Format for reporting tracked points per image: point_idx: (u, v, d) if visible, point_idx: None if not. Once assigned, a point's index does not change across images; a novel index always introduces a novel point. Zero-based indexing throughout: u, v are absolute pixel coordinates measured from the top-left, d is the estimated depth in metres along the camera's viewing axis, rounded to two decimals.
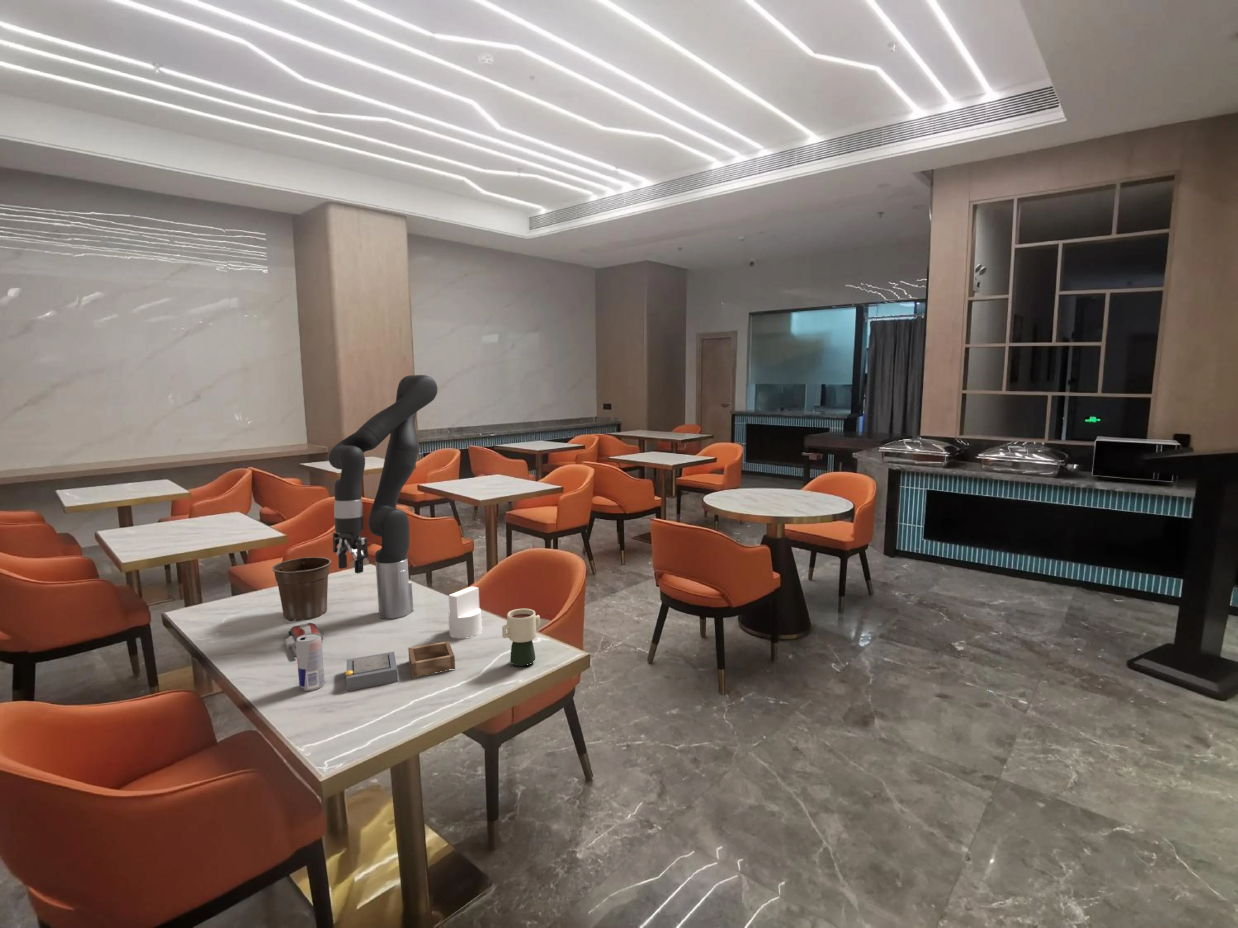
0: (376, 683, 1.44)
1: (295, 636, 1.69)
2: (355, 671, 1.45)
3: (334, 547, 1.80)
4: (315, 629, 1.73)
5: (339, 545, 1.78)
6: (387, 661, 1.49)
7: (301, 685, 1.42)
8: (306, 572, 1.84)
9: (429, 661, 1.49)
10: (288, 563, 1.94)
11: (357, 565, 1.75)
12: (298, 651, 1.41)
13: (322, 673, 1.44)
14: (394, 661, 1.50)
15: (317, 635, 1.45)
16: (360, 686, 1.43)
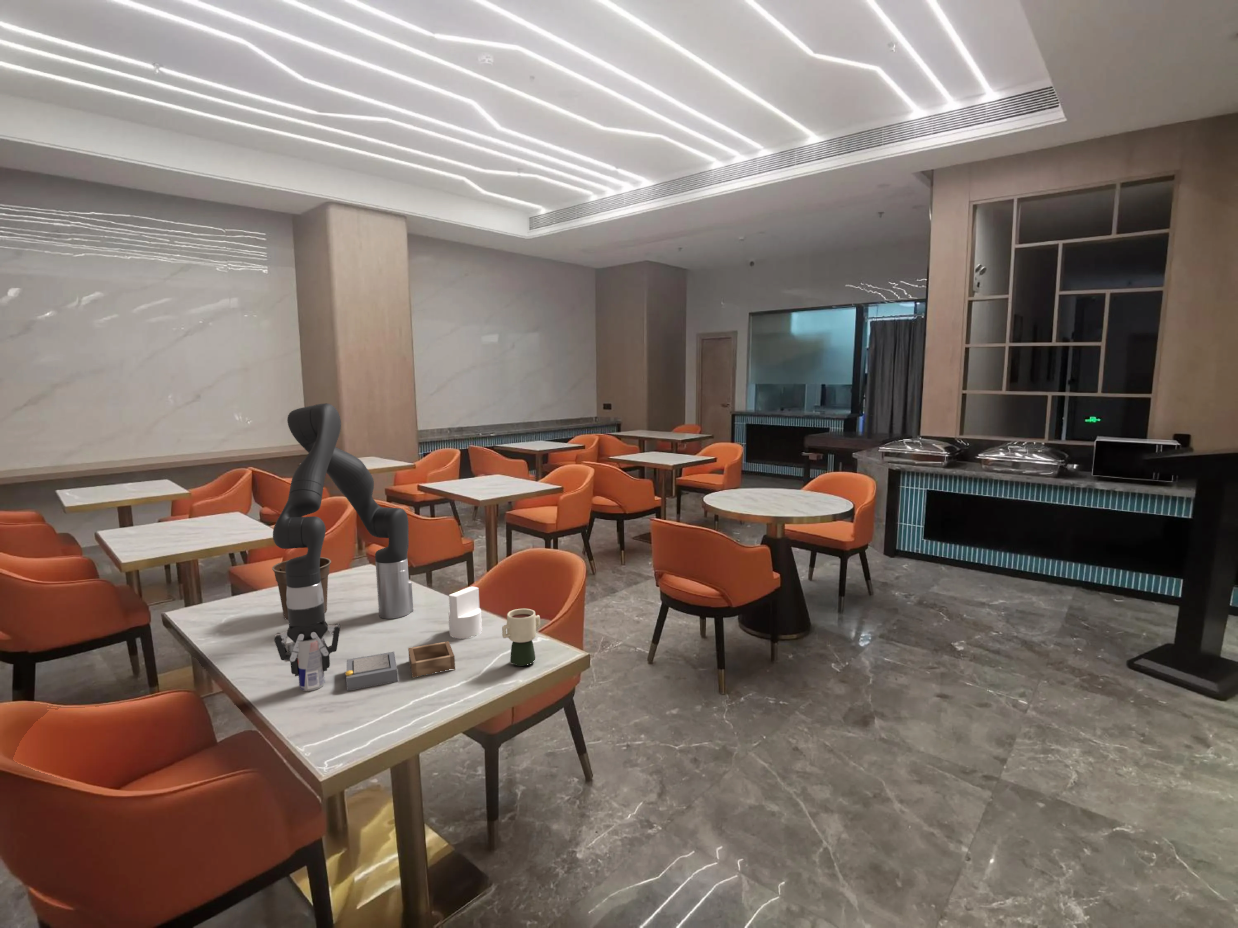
0: (376, 683, 1.44)
1: None
2: (355, 671, 1.45)
3: (283, 652, 1.40)
4: None
5: (297, 645, 1.41)
6: (387, 661, 1.49)
7: (301, 685, 1.42)
8: None
9: (429, 661, 1.49)
10: None
11: (327, 660, 1.45)
12: None
13: (322, 673, 1.44)
14: (394, 661, 1.50)
15: None
16: (360, 686, 1.43)
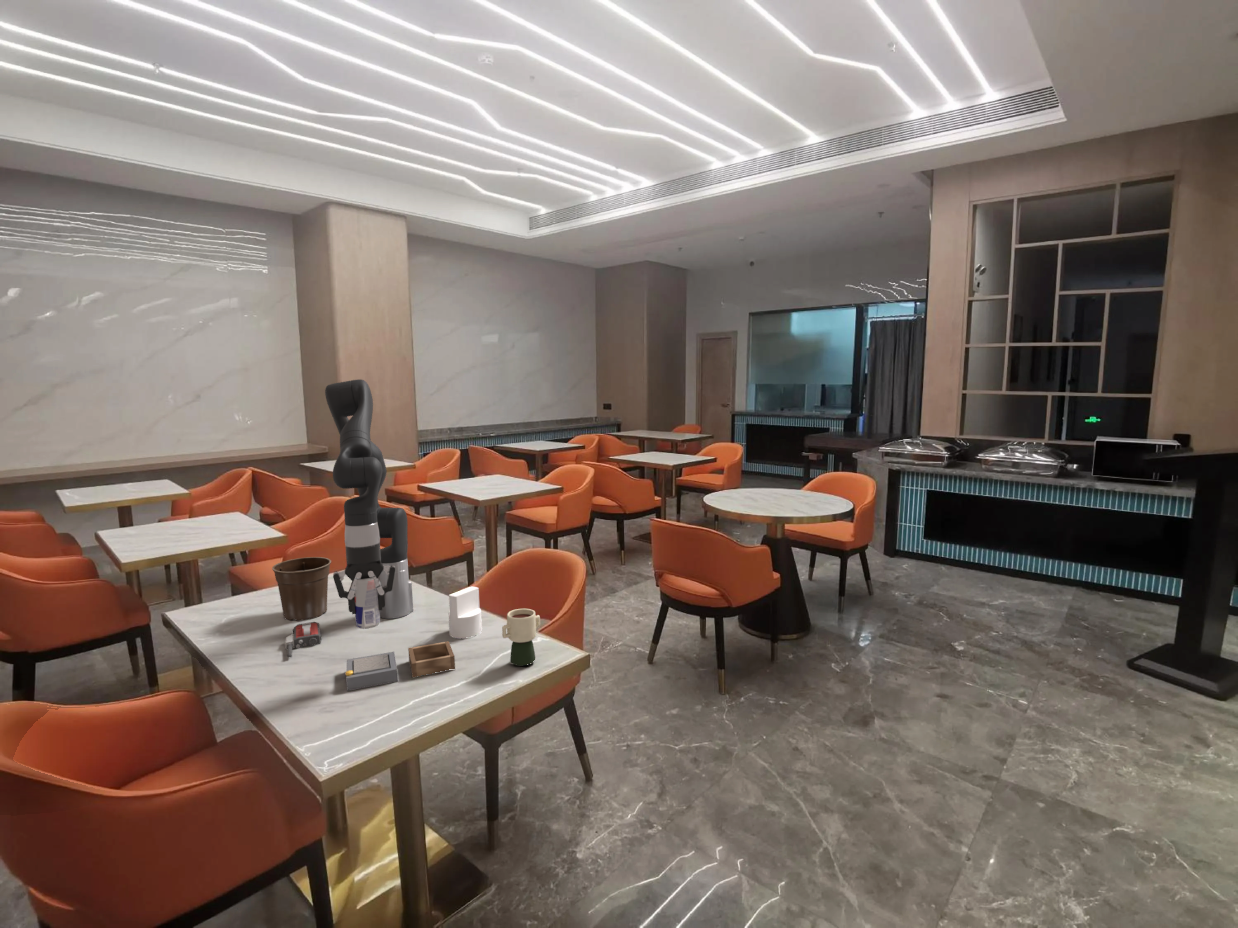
0: (376, 683, 1.44)
1: (295, 634, 1.69)
2: (355, 671, 1.45)
3: (341, 590, 1.43)
4: (316, 628, 1.73)
5: (355, 583, 1.44)
6: (387, 661, 1.49)
7: (358, 623, 1.45)
8: (306, 572, 1.84)
9: (429, 661, 1.49)
10: (288, 563, 1.94)
11: (382, 600, 1.48)
12: (356, 589, 1.44)
13: (378, 612, 1.47)
14: (394, 661, 1.50)
15: None
16: (360, 686, 1.43)
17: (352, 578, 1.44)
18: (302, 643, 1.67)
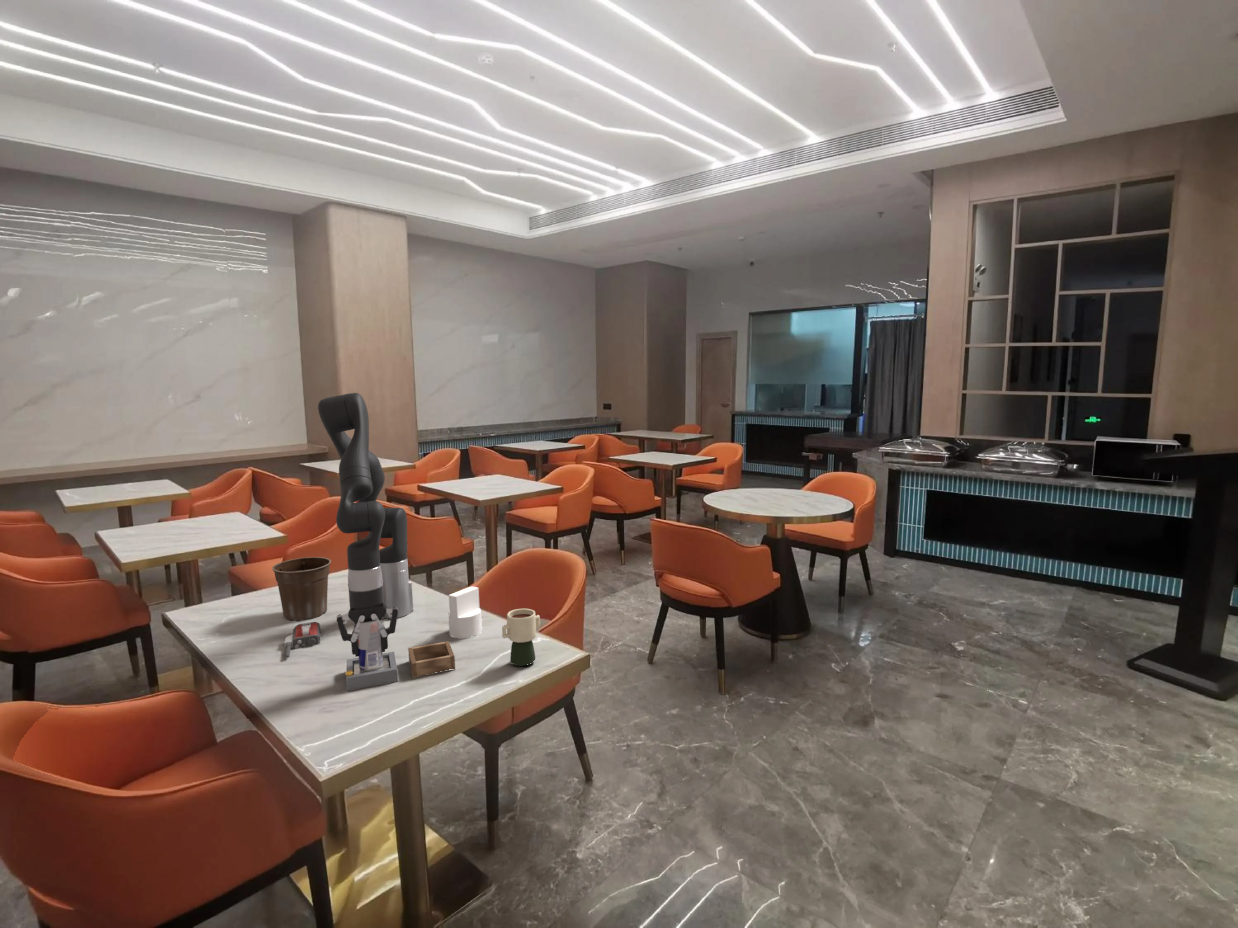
0: (376, 683, 1.44)
1: (294, 634, 1.70)
2: None
3: (345, 633, 1.45)
4: (316, 629, 1.73)
5: (358, 626, 1.45)
6: (387, 665, 1.49)
7: (361, 665, 1.46)
8: (306, 572, 1.84)
9: (429, 661, 1.49)
10: (288, 563, 1.94)
11: (385, 642, 1.49)
12: (359, 632, 1.46)
13: (381, 654, 1.48)
14: (394, 661, 1.50)
15: None
16: (360, 686, 1.43)
17: (355, 621, 1.45)
18: (301, 643, 1.67)
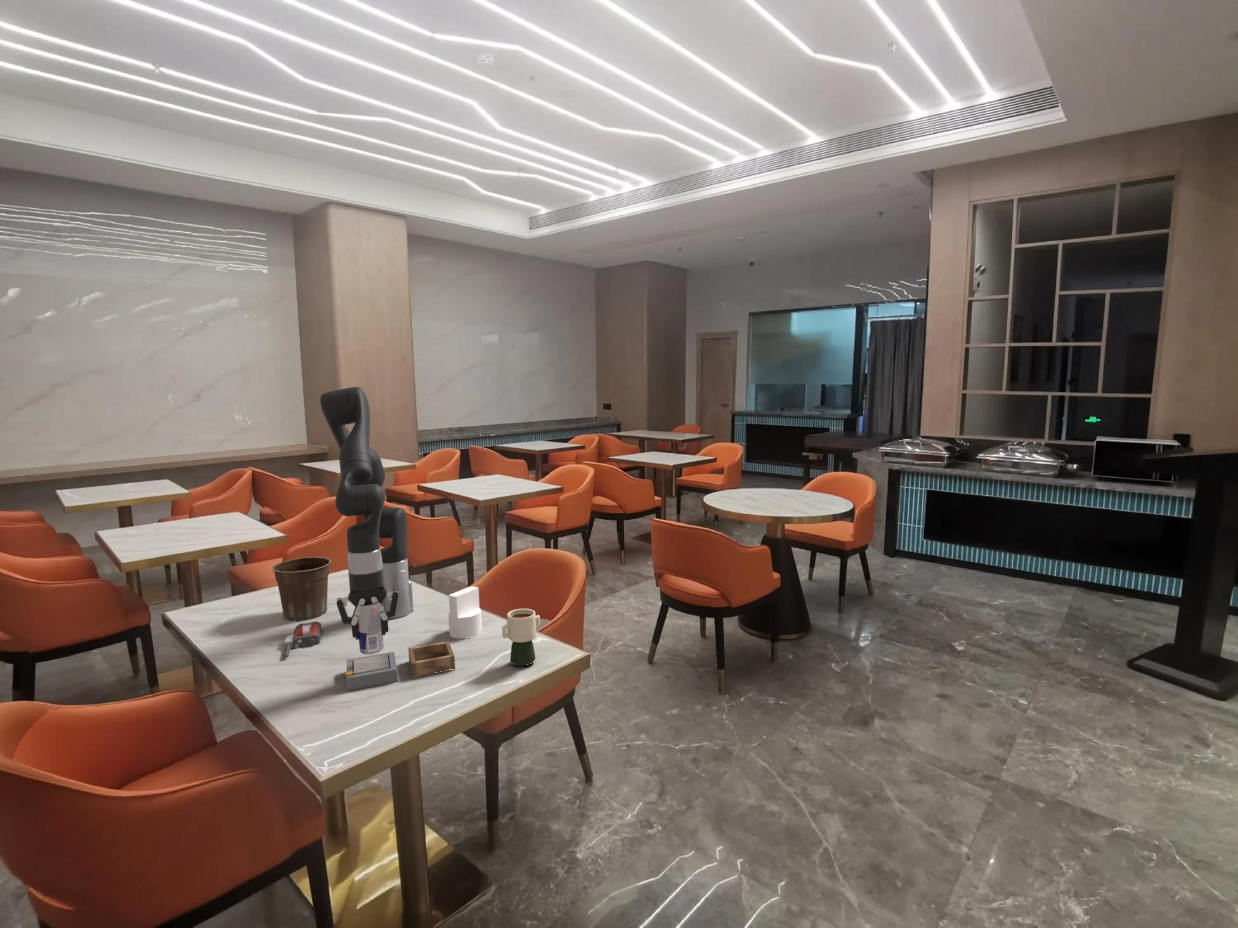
0: (376, 683, 1.44)
1: (295, 634, 1.70)
2: (355, 671, 1.45)
3: (345, 616, 1.44)
4: (316, 628, 1.73)
5: None
6: (387, 662, 1.49)
7: (362, 648, 1.46)
8: (306, 572, 1.84)
9: (429, 661, 1.49)
10: (288, 563, 1.94)
11: (386, 625, 1.49)
12: None
13: (381, 637, 1.48)
14: (394, 661, 1.50)
15: None
16: (360, 686, 1.43)
17: (355, 604, 1.45)
18: (301, 643, 1.67)
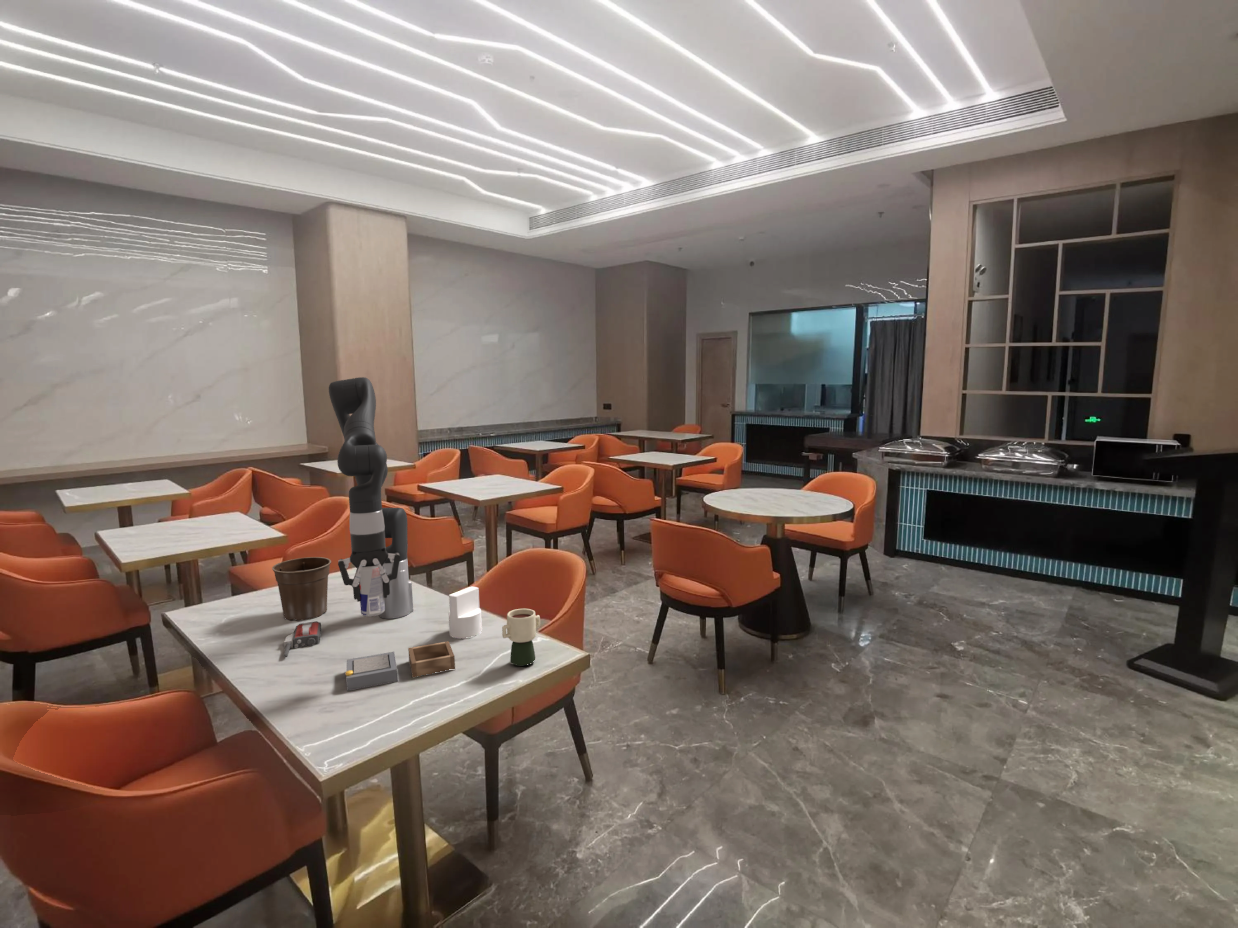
0: (376, 683, 1.44)
1: (294, 634, 1.70)
2: (355, 671, 1.45)
3: (346, 577, 1.44)
4: (316, 628, 1.73)
5: None
6: (387, 662, 1.49)
7: (363, 610, 1.45)
8: (306, 572, 1.84)
9: (429, 661, 1.49)
10: (288, 563, 1.94)
11: (387, 588, 1.48)
12: None
13: (383, 600, 1.47)
14: (394, 661, 1.50)
15: None
16: (360, 686, 1.43)
17: (357, 565, 1.44)
18: (300, 643, 1.67)
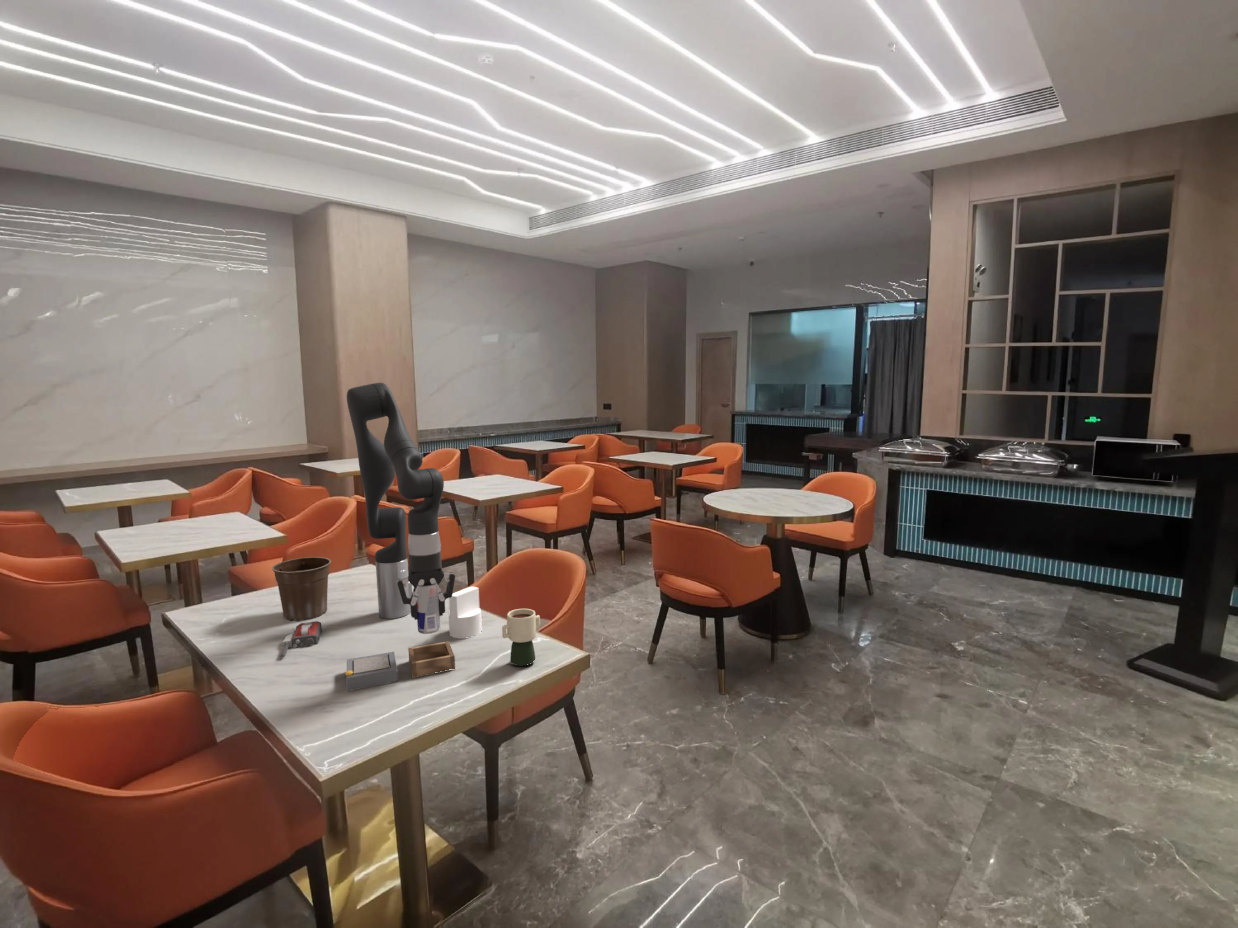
0: (376, 683, 1.44)
1: (294, 633, 1.70)
2: (355, 671, 1.45)
3: (405, 596, 1.49)
4: (316, 628, 1.73)
5: (418, 589, 1.50)
6: (387, 662, 1.49)
7: (420, 628, 1.51)
8: (306, 572, 1.84)
9: (429, 661, 1.49)
10: (288, 563, 1.94)
11: (443, 606, 1.53)
12: None
13: (439, 618, 1.53)
14: (394, 661, 1.50)
15: None
16: (360, 686, 1.43)
17: (415, 585, 1.50)
18: (299, 643, 1.67)
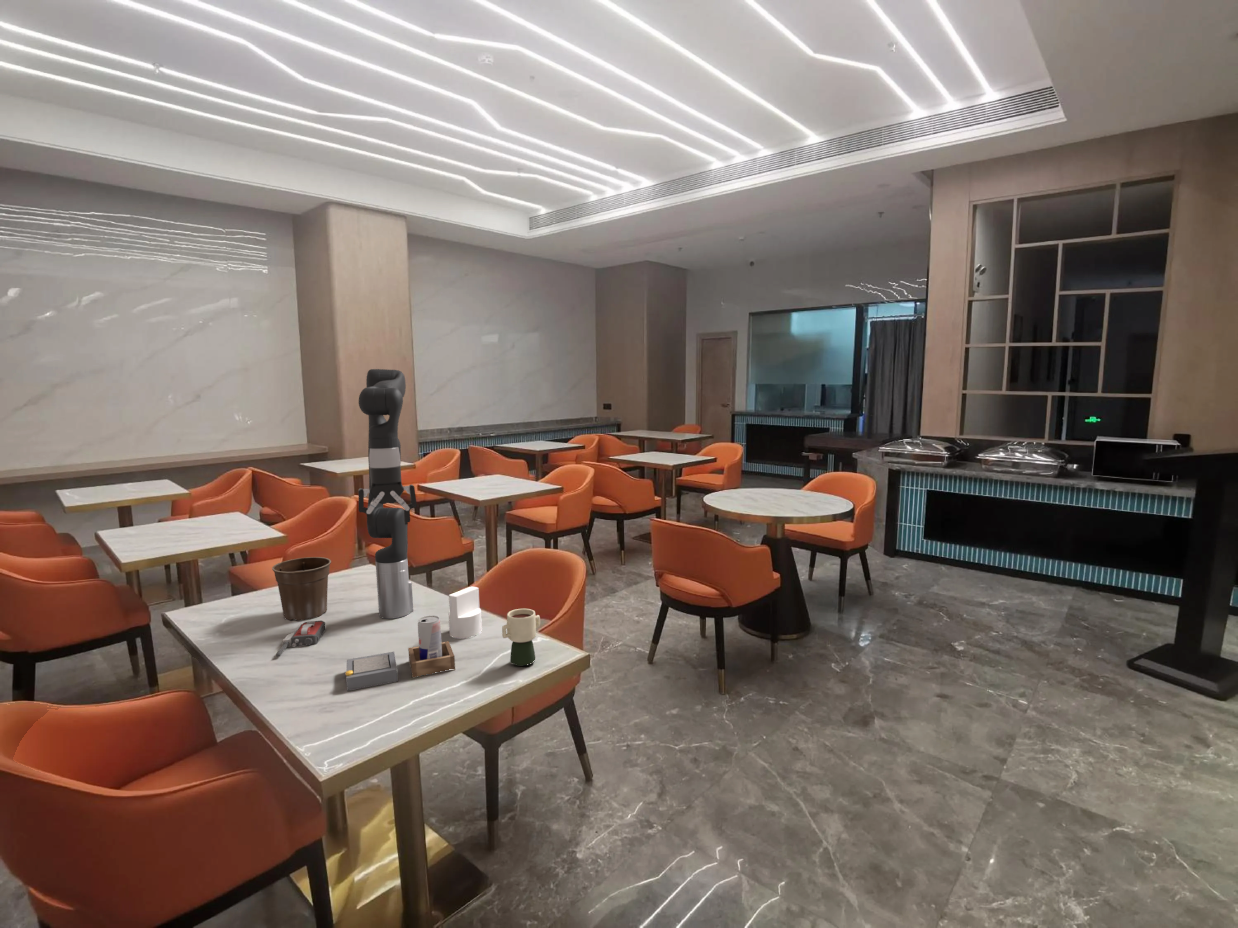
0: (376, 683, 1.44)
1: (295, 632, 1.71)
2: (355, 671, 1.45)
3: (362, 505, 1.59)
4: (317, 628, 1.73)
5: (377, 500, 1.59)
6: (387, 662, 1.49)
7: None
8: (306, 572, 1.84)
9: (429, 661, 1.49)
10: (288, 563, 1.94)
11: (408, 515, 1.64)
12: (421, 632, 1.51)
13: (441, 653, 1.54)
14: (394, 661, 1.50)
15: (436, 617, 1.55)
16: (360, 686, 1.43)
17: (375, 496, 1.60)
18: (298, 642, 1.68)
